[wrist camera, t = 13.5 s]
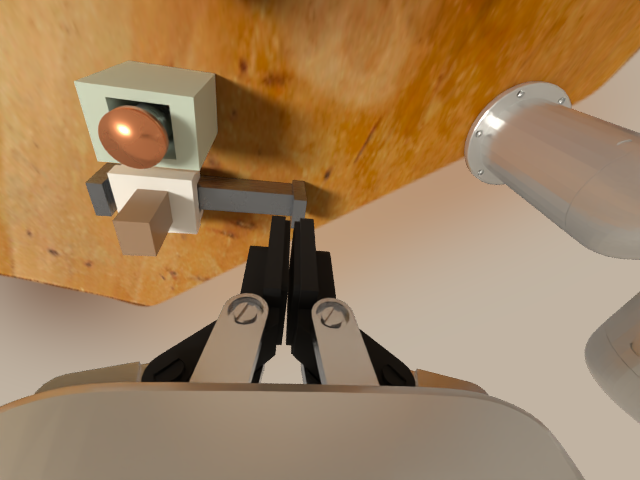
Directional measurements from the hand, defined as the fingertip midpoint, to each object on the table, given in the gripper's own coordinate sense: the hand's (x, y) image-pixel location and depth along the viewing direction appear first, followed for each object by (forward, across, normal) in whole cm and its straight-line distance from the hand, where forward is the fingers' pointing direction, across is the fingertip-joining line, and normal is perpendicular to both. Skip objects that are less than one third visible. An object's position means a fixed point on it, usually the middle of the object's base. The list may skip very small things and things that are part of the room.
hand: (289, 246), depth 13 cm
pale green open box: (+25, +12, +2) cm, 28 cm away
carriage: (+24, +14, +12) cm, 30 cm away
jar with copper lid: (+18, +12, +2) cm, 22 cm away
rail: (+25, +9, +12) cm, 29 cm away
